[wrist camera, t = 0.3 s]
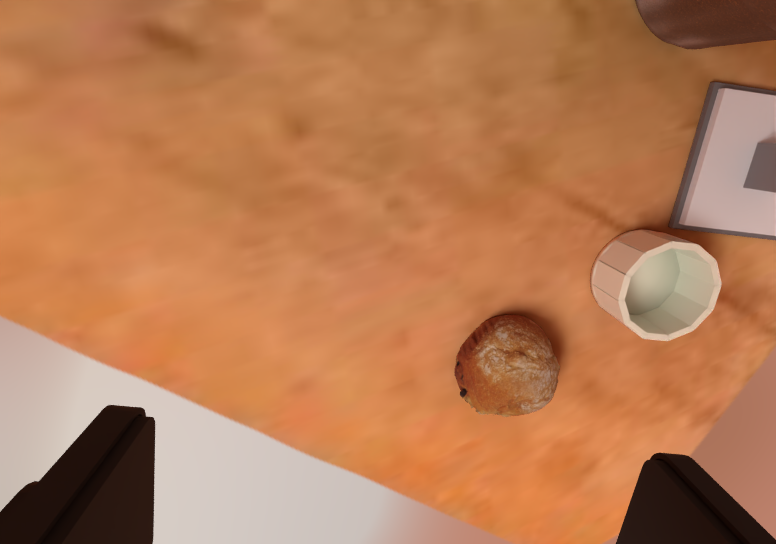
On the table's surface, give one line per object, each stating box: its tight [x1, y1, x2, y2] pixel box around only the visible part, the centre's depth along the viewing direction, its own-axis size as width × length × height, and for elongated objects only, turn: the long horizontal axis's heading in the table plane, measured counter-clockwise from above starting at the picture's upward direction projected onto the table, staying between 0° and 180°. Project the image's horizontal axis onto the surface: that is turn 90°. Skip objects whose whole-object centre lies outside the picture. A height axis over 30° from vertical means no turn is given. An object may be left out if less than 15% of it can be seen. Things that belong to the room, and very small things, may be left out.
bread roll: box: [455, 315, 560, 417], centre depth 47 cm, size 10×10×8 cm
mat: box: [668, 82, 776, 240], centre depth 45 cm, size 13×13×1 cm
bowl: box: [590, 229, 721, 341], centre depth 45 cm, size 9×9×6 cm
